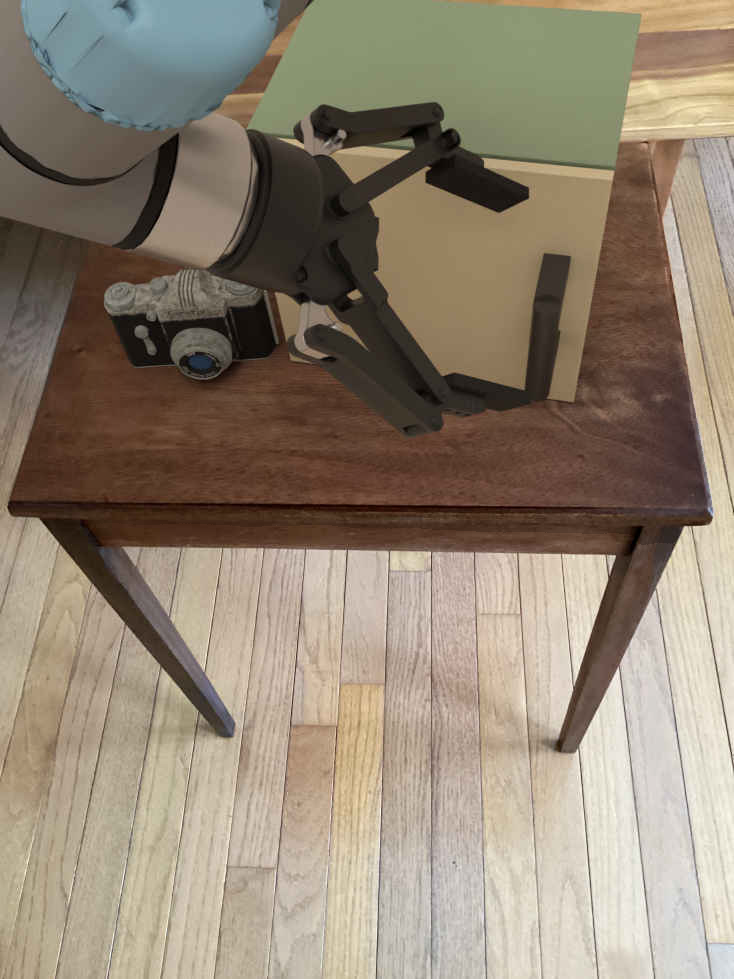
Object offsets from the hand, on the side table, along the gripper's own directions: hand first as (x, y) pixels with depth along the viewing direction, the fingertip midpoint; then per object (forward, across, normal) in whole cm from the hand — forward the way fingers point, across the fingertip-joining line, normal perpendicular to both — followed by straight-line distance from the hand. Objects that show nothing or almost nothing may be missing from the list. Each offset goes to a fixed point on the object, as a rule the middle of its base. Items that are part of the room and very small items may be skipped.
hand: (515, 299), depth 59 cm
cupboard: (+16, -11, -24) cm, 31 cm away
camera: (-3, -4, -38) cm, 38 cm away
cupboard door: (+11, +1, -22) cm, 24 cm away
